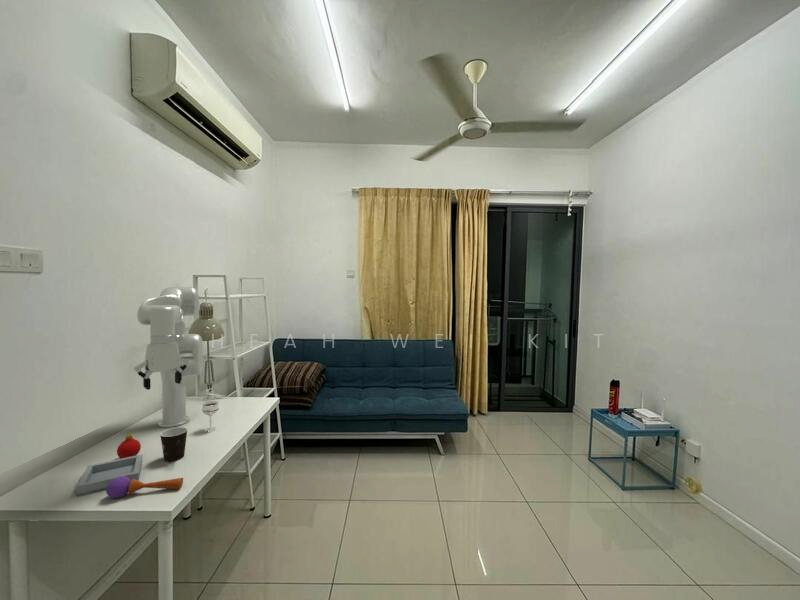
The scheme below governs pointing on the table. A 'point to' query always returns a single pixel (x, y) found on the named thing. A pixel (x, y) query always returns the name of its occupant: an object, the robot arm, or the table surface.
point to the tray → (108, 473)
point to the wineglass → (210, 411)
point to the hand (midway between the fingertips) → (163, 385)
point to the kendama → (138, 486)
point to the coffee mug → (173, 443)
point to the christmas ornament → (128, 447)
